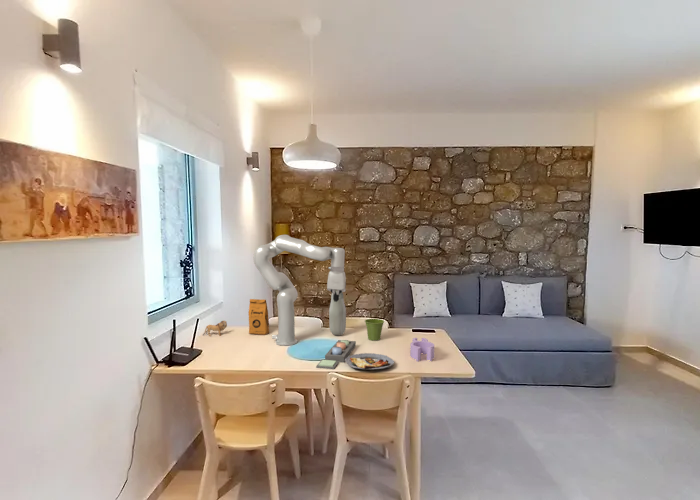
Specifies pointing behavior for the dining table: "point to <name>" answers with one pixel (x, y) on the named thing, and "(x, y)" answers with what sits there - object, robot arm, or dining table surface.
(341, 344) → the peach rounded dome
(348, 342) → the sage button
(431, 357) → the clip
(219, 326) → the lion figurine
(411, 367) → the dining table surface
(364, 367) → the food plate
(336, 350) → the slate button
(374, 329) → the plant pot
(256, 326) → the coffee package
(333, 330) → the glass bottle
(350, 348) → the button panel
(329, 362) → the card
